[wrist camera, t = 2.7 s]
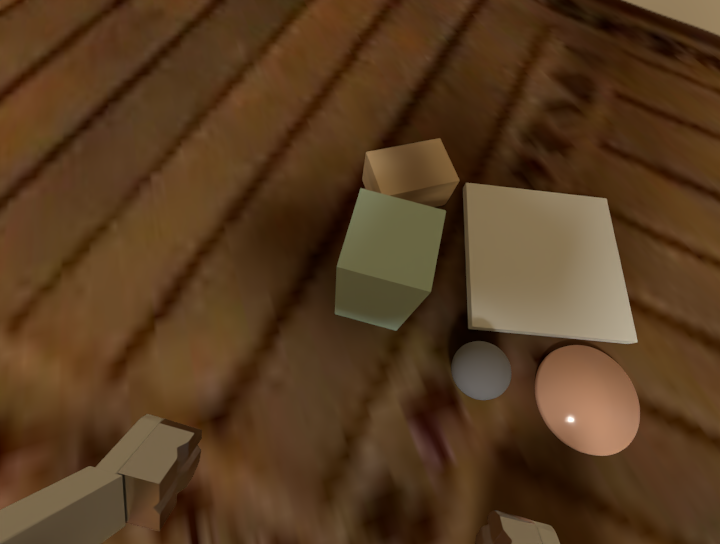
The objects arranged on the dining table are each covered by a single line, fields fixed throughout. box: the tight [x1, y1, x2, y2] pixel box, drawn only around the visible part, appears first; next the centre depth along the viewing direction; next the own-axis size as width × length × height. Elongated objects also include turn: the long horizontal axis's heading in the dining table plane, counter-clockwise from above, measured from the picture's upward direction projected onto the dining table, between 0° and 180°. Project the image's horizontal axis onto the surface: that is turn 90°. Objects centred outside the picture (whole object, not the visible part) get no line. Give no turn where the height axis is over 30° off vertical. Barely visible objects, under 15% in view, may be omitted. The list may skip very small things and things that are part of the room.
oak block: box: [362, 138, 460, 207], centre depth 27 cm, size 6×4×4 cm, turn 107°
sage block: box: [335, 188, 446, 331], centre depth 21 cm, size 4×4×9 cm
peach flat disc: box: [535, 345, 640, 456], centre depth 23 cm, size 7×7×1 cm
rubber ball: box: [451, 341, 511, 400], centre depth 22 cm, size 4×4×4 cm
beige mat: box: [463, 183, 638, 344], centre depth 27 cm, size 12×12×1 cm
